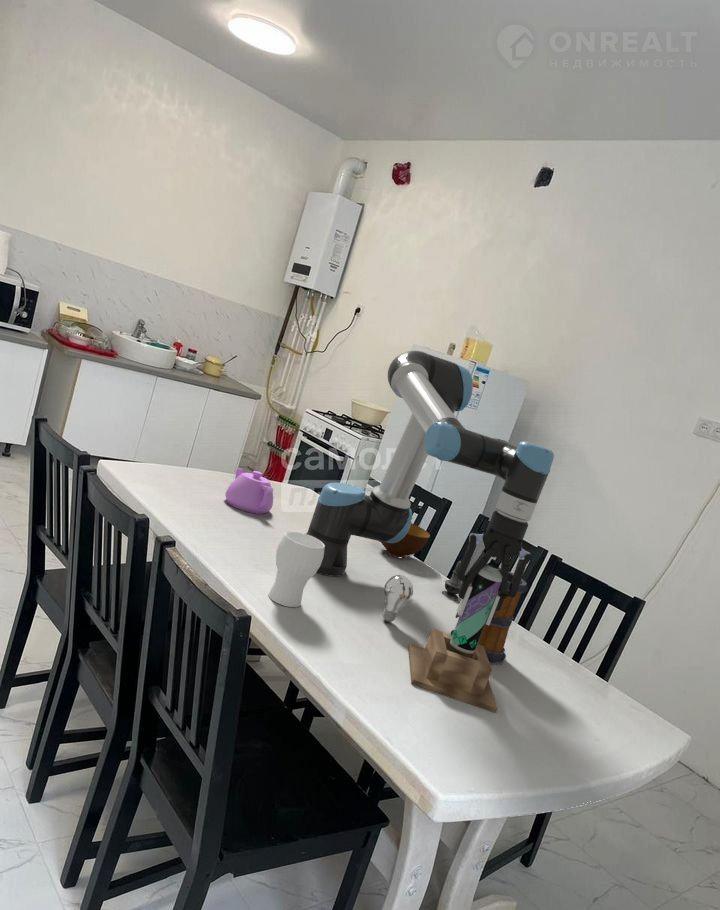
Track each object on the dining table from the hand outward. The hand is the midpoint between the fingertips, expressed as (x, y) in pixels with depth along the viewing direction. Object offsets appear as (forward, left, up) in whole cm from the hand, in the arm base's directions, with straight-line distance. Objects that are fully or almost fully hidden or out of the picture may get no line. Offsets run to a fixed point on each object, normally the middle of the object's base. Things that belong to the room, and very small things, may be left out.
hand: (472, 617), depth 146 cm
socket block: (0, 0, -14) cm, 14 cm away
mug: (+8, +24, -14) cm, 29 cm away
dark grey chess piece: (+6, +58, -14) cm, 60 cm away
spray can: (0, 0, -7) cm, 7 cm away
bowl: (-11, +82, -14) cm, 84 cm away
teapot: (-62, +79, -15) cm, 102 cm away
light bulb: (-14, +20, -14) cm, 28 cm away
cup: (-39, +12, -14) cm, 43 cm away
